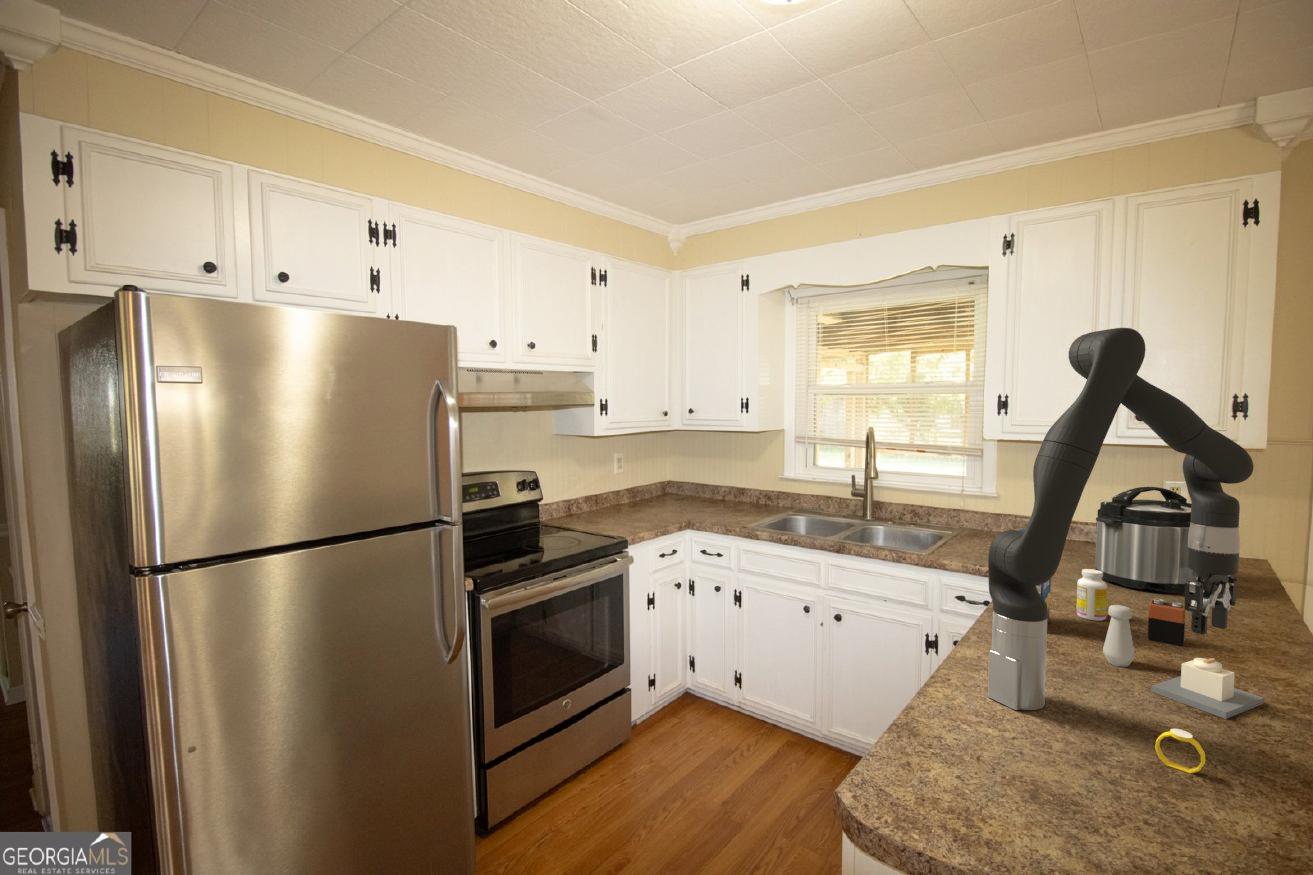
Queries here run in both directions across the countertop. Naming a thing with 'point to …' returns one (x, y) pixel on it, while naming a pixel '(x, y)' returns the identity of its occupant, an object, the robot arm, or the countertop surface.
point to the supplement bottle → (1092, 595)
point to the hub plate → (1208, 699)
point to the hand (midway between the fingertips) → (1209, 630)
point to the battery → (1166, 622)
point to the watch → (1181, 736)
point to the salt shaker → (1119, 637)
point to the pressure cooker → (1144, 541)
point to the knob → (1207, 678)
